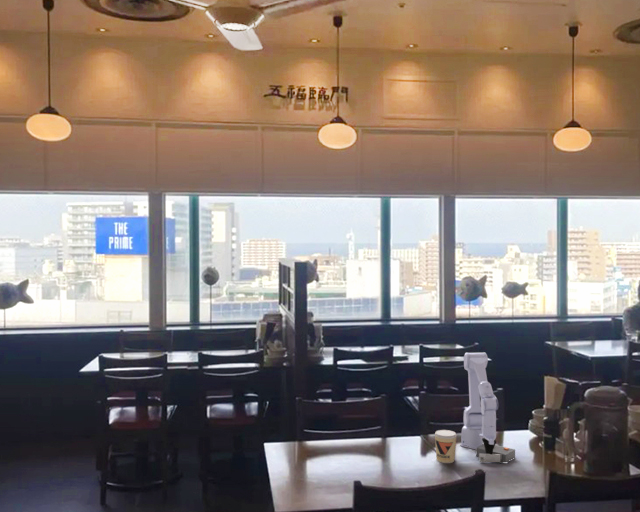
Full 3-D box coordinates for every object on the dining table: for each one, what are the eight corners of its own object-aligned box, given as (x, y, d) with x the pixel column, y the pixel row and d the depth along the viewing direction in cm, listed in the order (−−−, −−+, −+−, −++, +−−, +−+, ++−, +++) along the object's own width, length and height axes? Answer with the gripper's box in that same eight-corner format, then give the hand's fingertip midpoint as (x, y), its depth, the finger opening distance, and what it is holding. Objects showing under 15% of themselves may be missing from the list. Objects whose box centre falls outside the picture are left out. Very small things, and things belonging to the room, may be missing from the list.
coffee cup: (431, 461, 275) (432, 434, 274) (438, 455, 283) (438, 428, 283) (452, 465, 270) (453, 437, 270) (458, 458, 279) (459, 431, 278)
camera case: (476, 456, 281) (476, 446, 281) (485, 451, 288) (485, 441, 288) (505, 463, 272) (506, 453, 272) (515, 458, 279) (515, 448, 279)
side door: (479, 462, 273) (479, 454, 273) (479, 461, 274) (479, 453, 274) (502, 463, 272) (502, 455, 271) (501, 462, 273) (501, 453, 273)
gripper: (477, 419, 282) (477, 450, 283) (482, 429, 268) (481, 461, 268) (493, 420, 281) (493, 450, 282) (499, 430, 267) (498, 461, 267)
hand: (488, 455), depth 275 cm, fingers closed
